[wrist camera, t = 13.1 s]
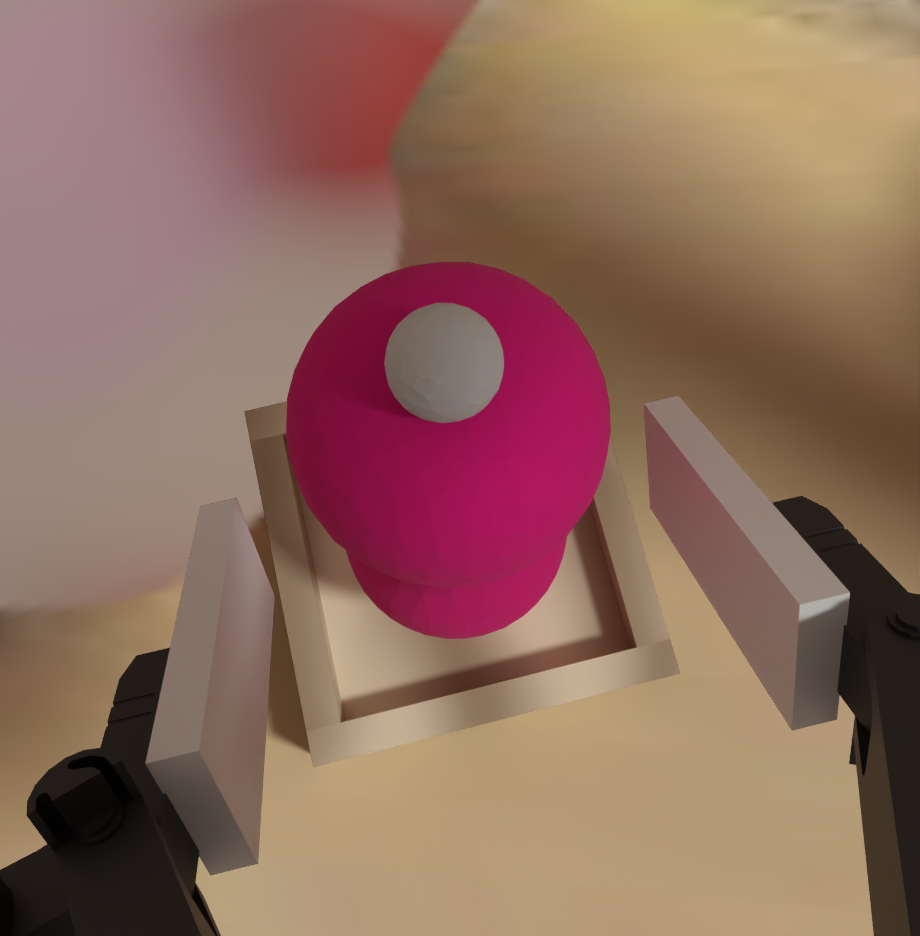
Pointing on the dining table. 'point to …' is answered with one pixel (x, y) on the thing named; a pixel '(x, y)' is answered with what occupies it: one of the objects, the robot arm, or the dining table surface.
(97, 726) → the dining table surface
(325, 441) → the pepper mill
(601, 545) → the tray
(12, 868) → the robot arm
